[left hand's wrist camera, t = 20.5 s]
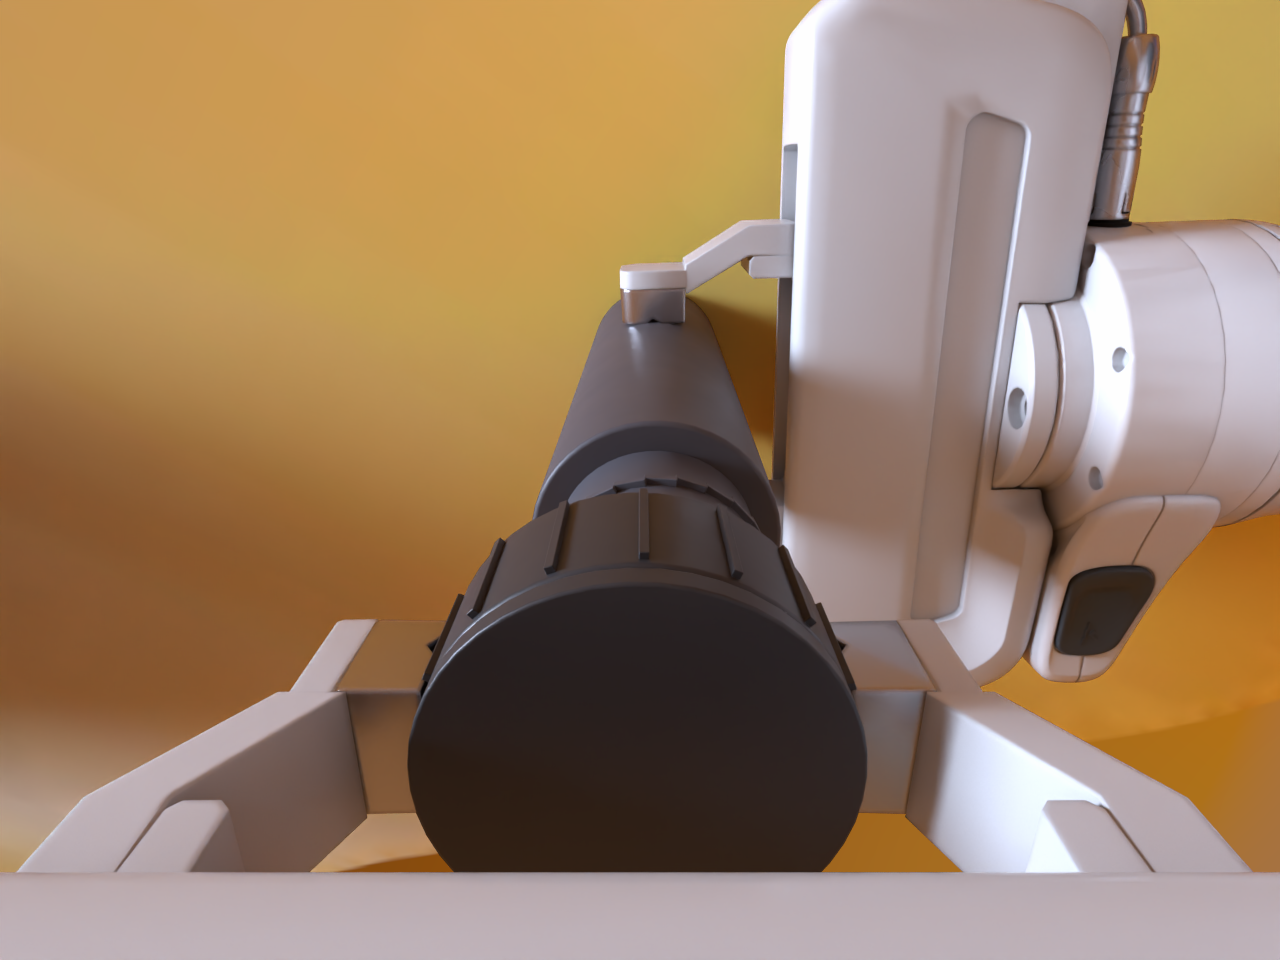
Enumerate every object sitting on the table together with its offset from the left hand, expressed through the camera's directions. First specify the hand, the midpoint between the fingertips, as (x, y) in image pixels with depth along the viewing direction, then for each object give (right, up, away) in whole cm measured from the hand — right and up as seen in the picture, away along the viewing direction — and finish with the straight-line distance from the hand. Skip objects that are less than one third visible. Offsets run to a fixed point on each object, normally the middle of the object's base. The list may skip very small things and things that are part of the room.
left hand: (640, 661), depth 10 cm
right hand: (0, +5, +12) cm, 13 cm away
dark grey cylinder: (+1, +7, +18) cm, 19 cm away
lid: (0, -1, -2) cm, 2 cm away
